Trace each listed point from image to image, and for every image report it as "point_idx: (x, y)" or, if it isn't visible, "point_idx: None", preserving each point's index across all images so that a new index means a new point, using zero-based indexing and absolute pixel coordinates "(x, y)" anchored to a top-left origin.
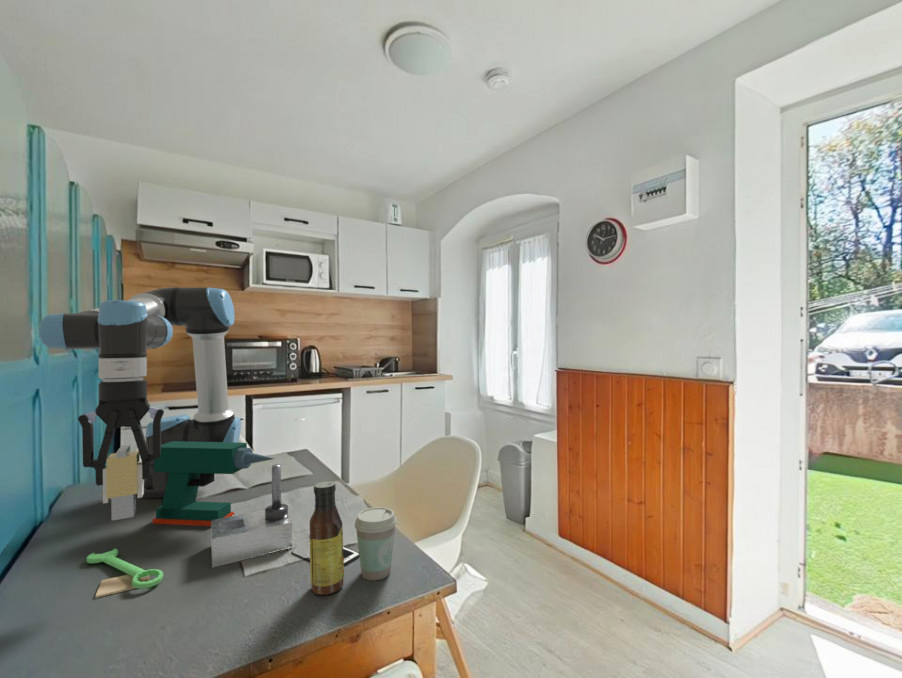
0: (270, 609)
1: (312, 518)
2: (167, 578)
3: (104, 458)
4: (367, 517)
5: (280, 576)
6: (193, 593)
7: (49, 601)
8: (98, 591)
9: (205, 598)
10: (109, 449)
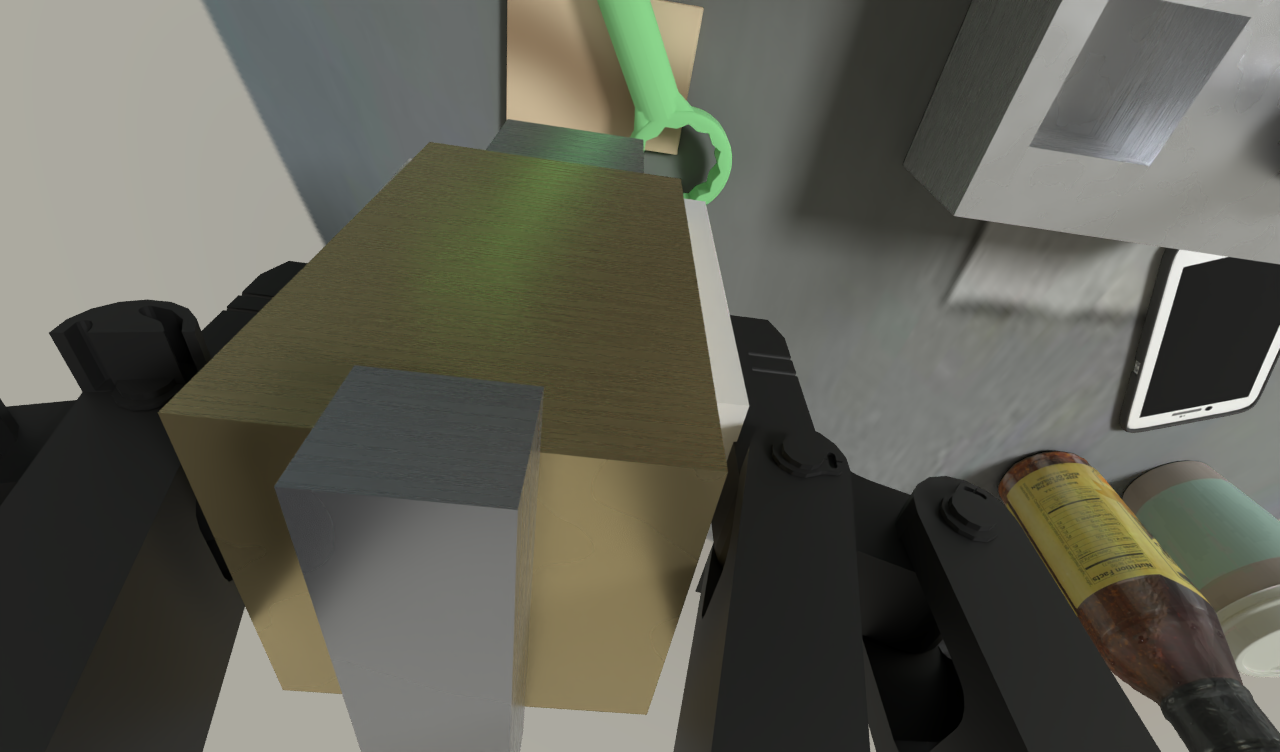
0: (892, 474)
1: (1130, 665)
2: (745, 138)
3: (224, 628)
4: (1276, 643)
5: (1011, 367)
6: (785, 305)
7: (340, 23)
8: (511, 95)
9: (801, 351)
10: (113, 623)
